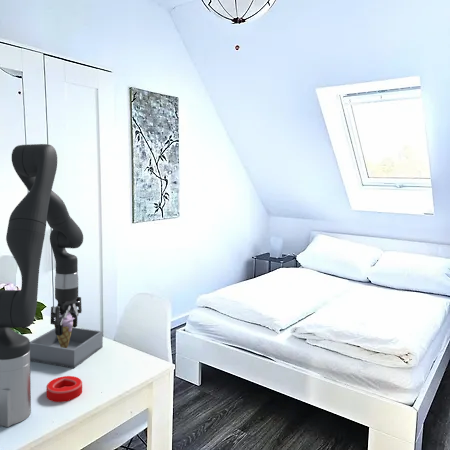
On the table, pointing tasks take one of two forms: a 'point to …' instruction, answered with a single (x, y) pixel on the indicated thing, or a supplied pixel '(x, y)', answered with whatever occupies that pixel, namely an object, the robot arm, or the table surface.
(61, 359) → the bin
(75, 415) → the table surface
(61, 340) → the ice cream cone
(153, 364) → the table surface
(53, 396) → the decorative ornament
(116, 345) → the table surface
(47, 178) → the robot arm
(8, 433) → the table surface
